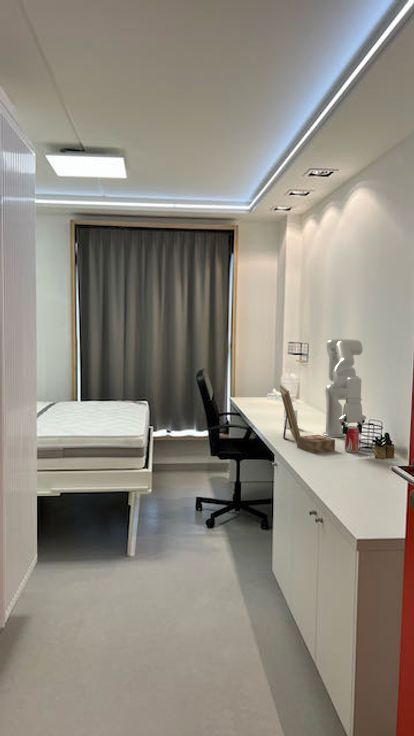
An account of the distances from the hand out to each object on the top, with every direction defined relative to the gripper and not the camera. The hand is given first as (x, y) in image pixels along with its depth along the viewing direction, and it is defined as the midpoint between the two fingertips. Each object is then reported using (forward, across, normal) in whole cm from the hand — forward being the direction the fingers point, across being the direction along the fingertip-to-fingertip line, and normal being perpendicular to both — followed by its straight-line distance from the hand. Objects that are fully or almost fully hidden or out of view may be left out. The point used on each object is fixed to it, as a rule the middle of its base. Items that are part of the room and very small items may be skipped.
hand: (352, 433), depth 278 cm
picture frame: (+10, +11, -40) cm, 43 cm away
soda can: (+10, 0, 0) cm, 10 cm away
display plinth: (+10, +14, -12) cm, 21 cm away
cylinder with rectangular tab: (+9, -10, -68) cm, 70 cm away
